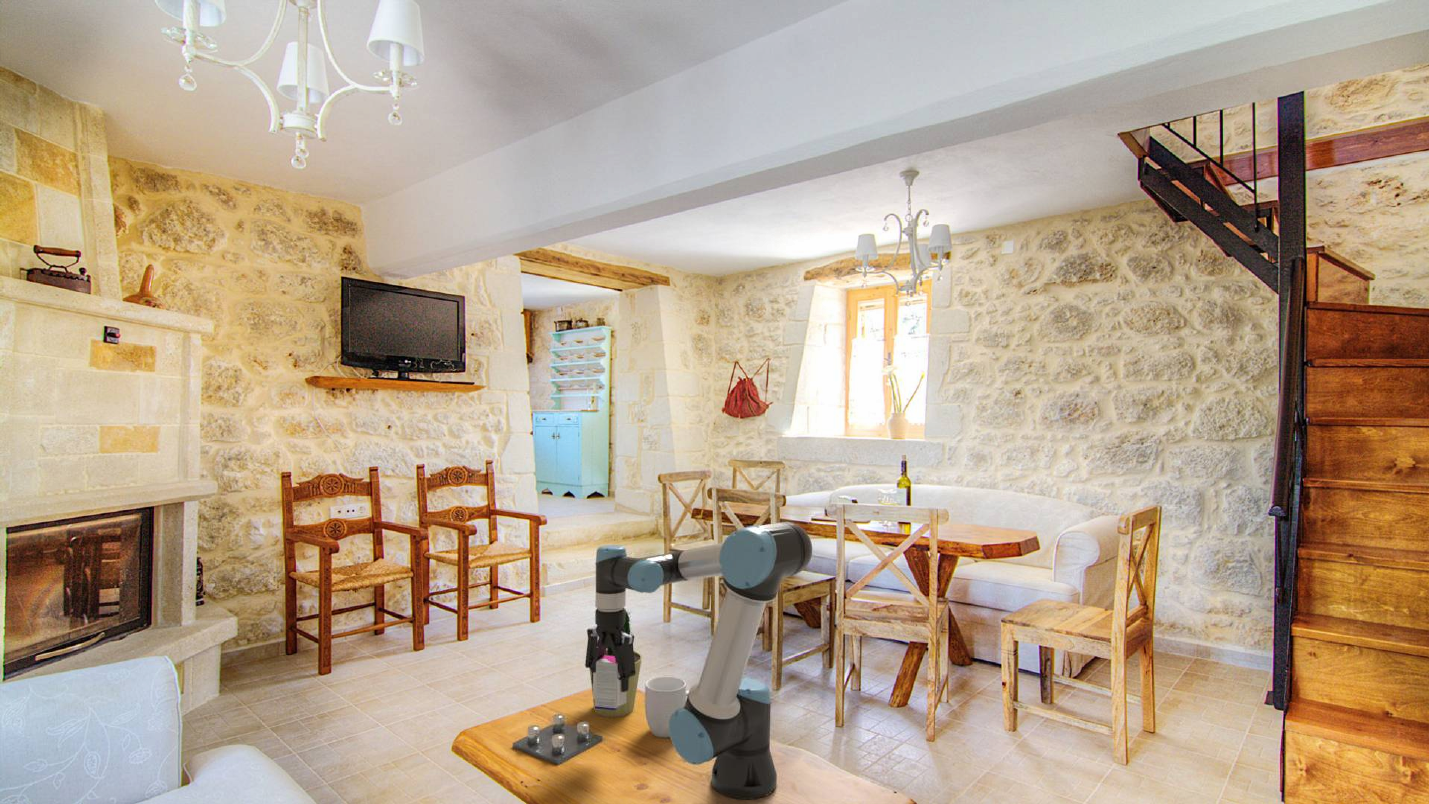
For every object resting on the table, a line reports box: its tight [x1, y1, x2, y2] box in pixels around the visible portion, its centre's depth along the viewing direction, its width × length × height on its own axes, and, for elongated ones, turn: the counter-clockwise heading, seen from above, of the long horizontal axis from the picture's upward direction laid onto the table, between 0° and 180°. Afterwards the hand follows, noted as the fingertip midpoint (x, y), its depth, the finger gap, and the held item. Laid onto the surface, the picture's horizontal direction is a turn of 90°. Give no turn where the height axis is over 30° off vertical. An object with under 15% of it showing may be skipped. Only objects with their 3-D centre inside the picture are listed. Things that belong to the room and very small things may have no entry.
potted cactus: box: [589, 608, 643, 718], centre depth 203 cm, size 15×15×30 cm
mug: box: [644, 675, 689, 739], centre depth 189 cm, size 15×11×13 cm
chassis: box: [512, 713, 604, 766], centre depth 181 cm, size 16×16×4 cm
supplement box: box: [595, 655, 620, 710], centre depth 176 cm, size 6×6×12 cm
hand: (609, 700), depth 175 cm, fingers closed on supplement box, 7 cm apart
